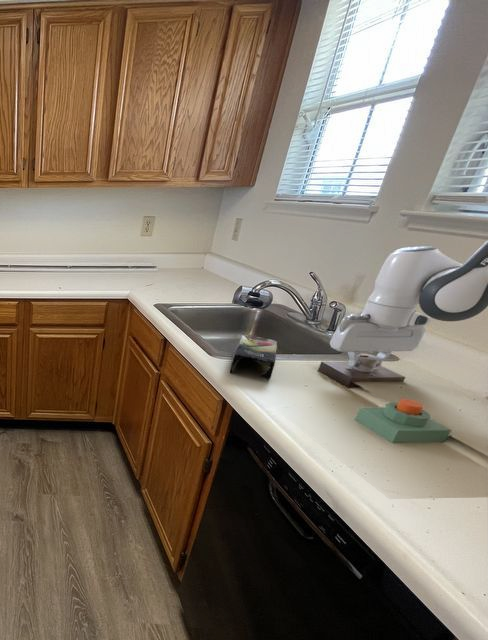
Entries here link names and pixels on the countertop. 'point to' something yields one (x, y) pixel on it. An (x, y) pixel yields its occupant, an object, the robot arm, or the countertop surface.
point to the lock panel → (356, 374)
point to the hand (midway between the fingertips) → (363, 365)
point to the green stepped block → (402, 425)
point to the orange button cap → (410, 406)
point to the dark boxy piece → (256, 352)
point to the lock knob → (366, 362)
